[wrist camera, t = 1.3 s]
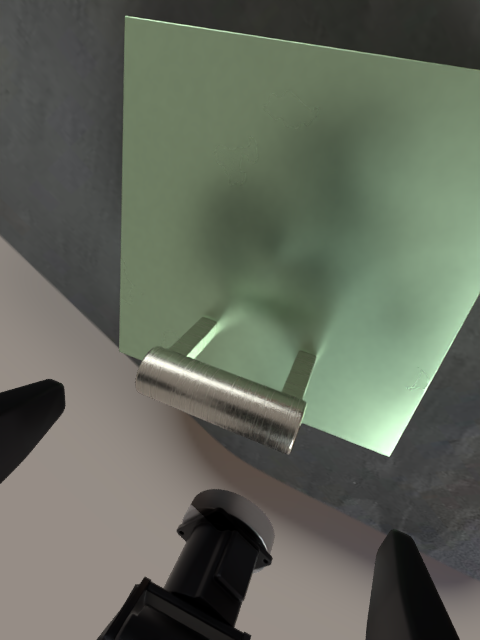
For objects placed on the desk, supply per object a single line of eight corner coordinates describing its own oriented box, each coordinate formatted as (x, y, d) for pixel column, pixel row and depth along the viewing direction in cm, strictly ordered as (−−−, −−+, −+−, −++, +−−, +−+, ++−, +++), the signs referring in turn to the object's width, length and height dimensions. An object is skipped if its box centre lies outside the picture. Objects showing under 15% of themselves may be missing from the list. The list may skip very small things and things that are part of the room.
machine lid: (389, 443, 15) (390, 568, 11) (129, 343, 18) (43, 410, 13) (579, 91, 9) (765, 43, 5) (139, 22, 12) (-12, -50, 7)
